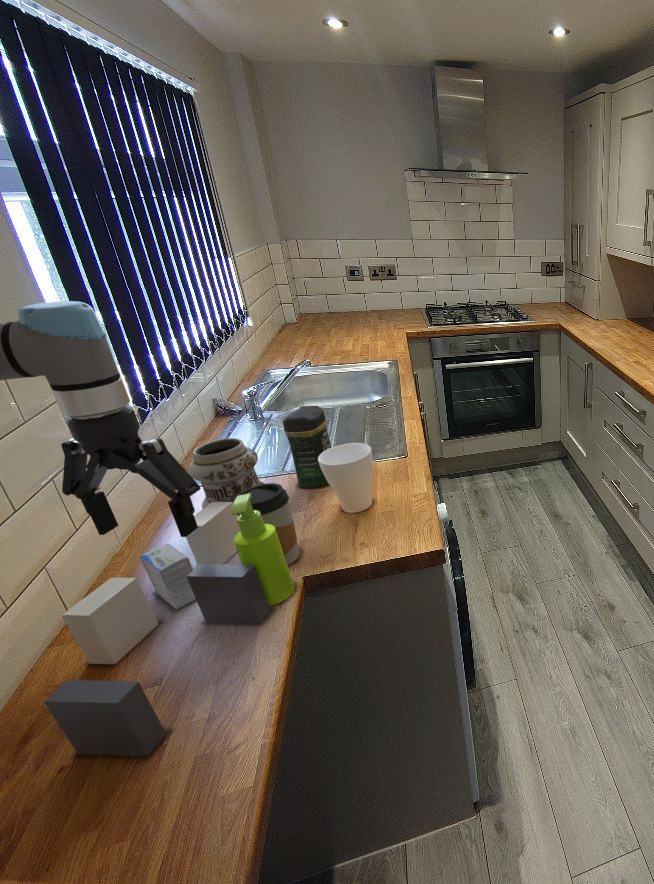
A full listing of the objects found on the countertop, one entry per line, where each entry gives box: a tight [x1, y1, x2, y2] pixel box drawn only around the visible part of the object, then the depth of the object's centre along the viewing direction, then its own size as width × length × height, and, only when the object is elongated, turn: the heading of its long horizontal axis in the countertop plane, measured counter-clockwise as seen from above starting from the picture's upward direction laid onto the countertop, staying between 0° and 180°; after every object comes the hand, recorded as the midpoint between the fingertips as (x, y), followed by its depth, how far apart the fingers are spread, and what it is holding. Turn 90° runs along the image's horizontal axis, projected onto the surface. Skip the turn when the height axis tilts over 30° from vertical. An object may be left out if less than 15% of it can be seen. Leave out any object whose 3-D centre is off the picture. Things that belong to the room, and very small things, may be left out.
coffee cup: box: [238, 482, 301, 566], centre depth 97 cm, size 8×8×15 cm
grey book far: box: [186, 564, 272, 625], centre depth 84 cm, size 9×3×10 cm, turn 88°
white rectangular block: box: [61, 577, 159, 665], centre depth 79 cm, size 4×8×10 cm, turn 178°
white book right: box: [185, 502, 240, 567], centre depth 99 cm, size 4×8×10 cm, turn 178°
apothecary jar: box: [187, 437, 266, 516], centre depth 109 cm, size 12×12×18 cm
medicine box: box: [139, 543, 196, 610], centre depth 90 cm, size 8×4×9 cm, turn 58°
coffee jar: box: [282, 405, 333, 489], centre depth 125 cm, size 10×8×19 cm
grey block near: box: [43, 679, 167, 757], centre depth 64 cm, size 9×3×10 cm, turn 88°
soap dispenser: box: [232, 493, 295, 606], centre depth 87 cm, size 6×7×20 cm
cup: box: [318, 442, 374, 514], centre depth 114 cm, size 10×10×14 cm
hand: (149, 531), depth 86 cm, fingers open, 13 cm apart
